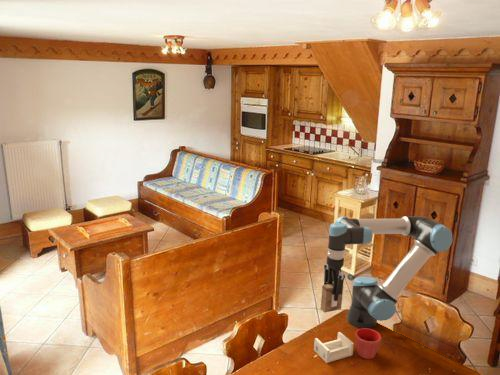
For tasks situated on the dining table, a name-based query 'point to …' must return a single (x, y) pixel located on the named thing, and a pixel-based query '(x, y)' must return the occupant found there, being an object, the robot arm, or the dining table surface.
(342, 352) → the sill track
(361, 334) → the flower pot
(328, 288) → the walnut panel
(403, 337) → the dining table surface
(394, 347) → the dining table surface
